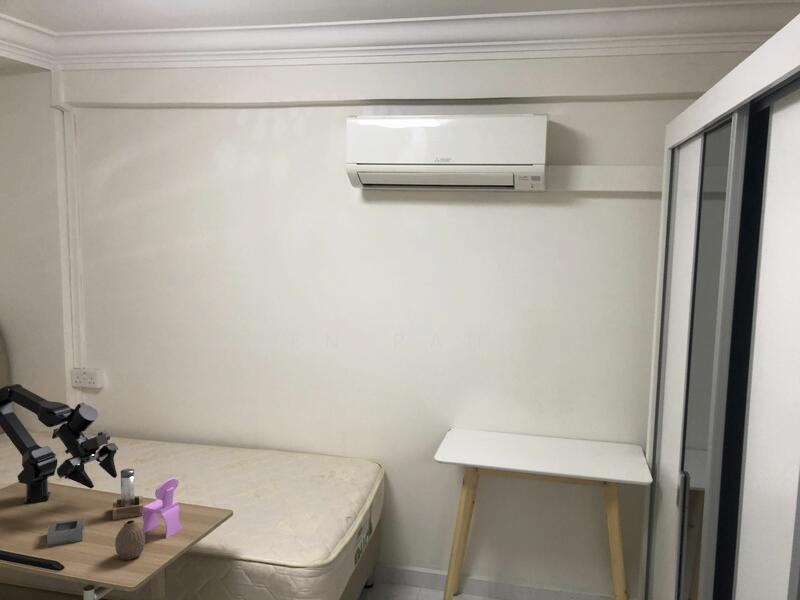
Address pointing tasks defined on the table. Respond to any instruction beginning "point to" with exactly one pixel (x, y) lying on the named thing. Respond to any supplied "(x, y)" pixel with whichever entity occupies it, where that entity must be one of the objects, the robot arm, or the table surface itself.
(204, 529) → the table surface
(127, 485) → the silver and grey cylinder
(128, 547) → the vase
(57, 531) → the socket block
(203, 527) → the table surface
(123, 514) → the block
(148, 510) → the toy chair
